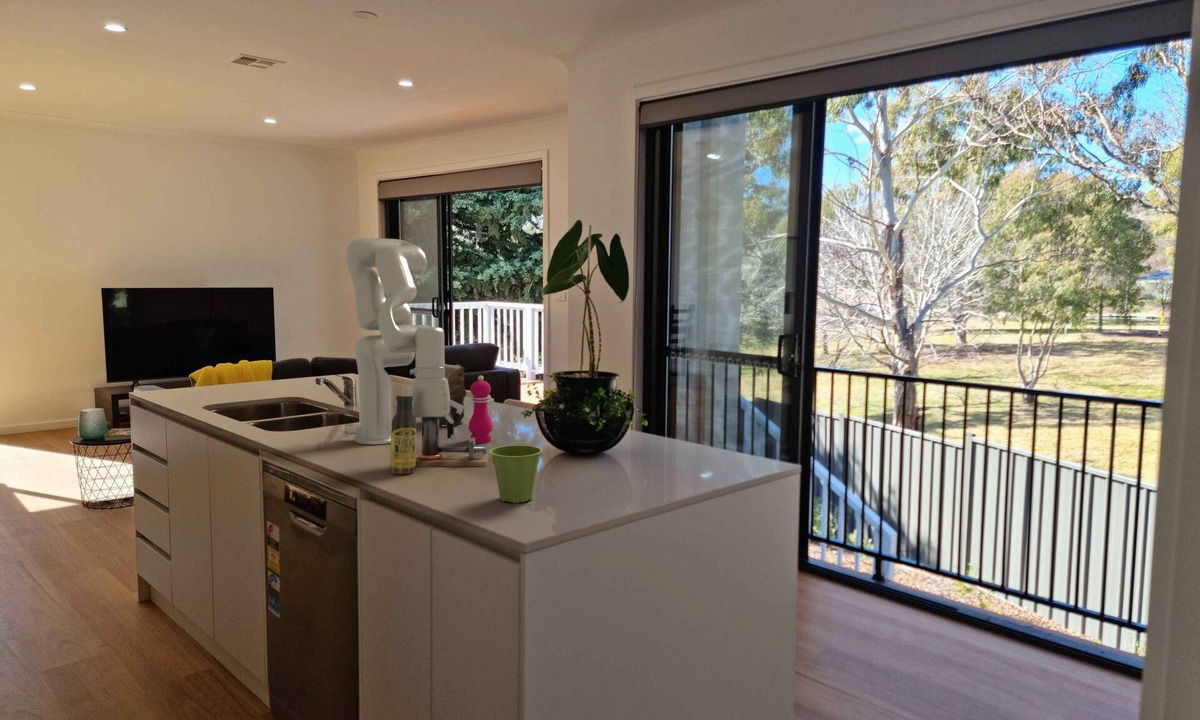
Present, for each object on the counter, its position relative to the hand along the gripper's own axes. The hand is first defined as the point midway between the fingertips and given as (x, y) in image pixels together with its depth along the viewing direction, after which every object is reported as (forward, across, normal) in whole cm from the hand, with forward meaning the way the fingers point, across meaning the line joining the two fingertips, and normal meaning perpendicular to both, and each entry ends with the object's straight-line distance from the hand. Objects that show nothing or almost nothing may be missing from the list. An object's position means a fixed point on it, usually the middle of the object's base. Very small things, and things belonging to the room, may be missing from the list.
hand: (431, 437), depth 209 cm
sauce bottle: (+7, -6, -10) cm, 14 cm away
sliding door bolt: (+5, +5, 0) cm, 8 cm away
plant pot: (+8, +24, -35) cm, 43 cm away
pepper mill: (+7, +11, +27) cm, 30 cm away
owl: (+6, -4, +54) cm, 55 cm away
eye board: (+7, +4, 0) cm, 8 cm away
